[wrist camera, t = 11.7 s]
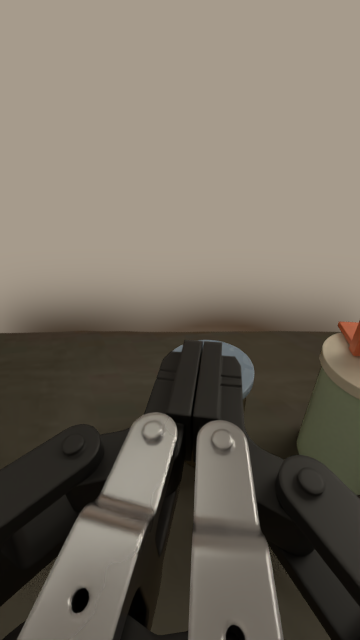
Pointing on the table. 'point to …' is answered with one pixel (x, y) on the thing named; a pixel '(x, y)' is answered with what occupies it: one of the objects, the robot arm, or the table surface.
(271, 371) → the table surface
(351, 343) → the block
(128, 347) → the table surface
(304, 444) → the sage cup
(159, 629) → the table surface
